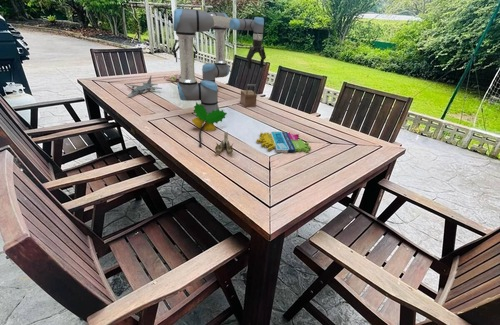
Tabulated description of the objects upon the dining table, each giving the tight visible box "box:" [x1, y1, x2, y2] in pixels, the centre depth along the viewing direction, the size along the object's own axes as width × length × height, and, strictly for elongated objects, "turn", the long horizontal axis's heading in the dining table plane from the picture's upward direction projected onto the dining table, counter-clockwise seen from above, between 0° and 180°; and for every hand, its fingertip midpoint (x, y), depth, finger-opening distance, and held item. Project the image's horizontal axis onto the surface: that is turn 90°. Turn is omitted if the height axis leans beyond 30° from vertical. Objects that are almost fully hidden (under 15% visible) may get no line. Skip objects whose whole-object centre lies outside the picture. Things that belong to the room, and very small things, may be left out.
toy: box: [163, 74, 181, 83], centre depth 276 cm, size 28×7×30 cm
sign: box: [256, 131, 312, 154], centre depth 152 cm, size 26×2×30 cm
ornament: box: [191, 102, 228, 132], centre depth 162 cm, size 21×8×15 cm, turn 105°
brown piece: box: [240, 83, 258, 97], centre depth 208 cm, size 14×9×9 cm
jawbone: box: [214, 131, 234, 156], centre depth 136 cm, size 9×15×10 cm
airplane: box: [127, 75, 162, 98], centre depth 225 cm, size 38×32×10 cm
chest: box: [239, 92, 258, 108], centre depth 212 cm, size 13×9×9 cm
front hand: (185, 62), depth 211 cm, fingers open, 13 cm apart
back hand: (255, 68), depth 214 cm, fingers open, 13 cm apart
